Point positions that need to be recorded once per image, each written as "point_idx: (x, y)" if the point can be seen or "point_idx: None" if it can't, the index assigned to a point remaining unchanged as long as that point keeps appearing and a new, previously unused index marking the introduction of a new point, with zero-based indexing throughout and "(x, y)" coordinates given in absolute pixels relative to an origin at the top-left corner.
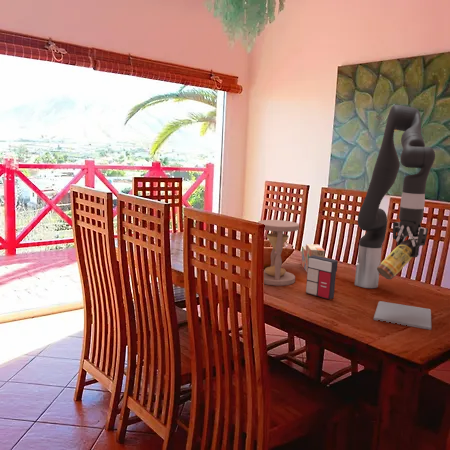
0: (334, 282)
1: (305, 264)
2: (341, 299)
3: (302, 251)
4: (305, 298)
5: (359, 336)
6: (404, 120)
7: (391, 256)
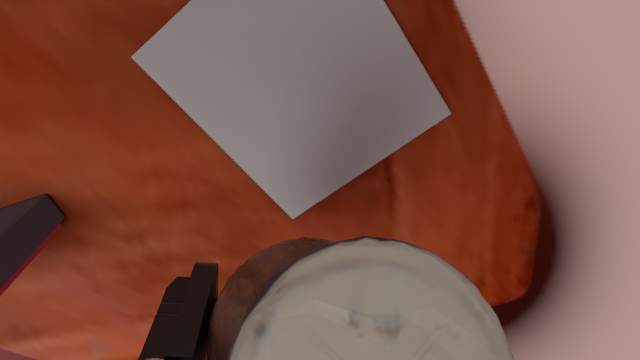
0: (7, 240)
1: None
2: (65, 174)
3: None
4: (42, 276)
5: None
6: None
7: None
